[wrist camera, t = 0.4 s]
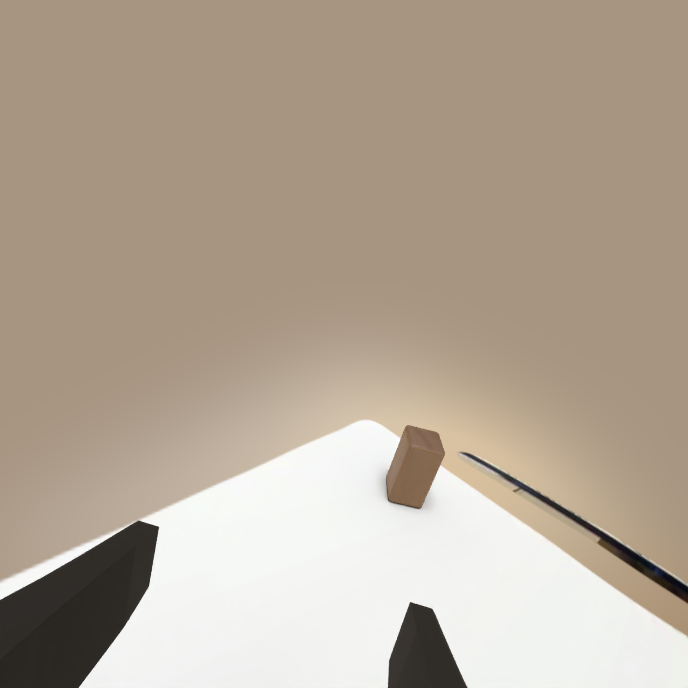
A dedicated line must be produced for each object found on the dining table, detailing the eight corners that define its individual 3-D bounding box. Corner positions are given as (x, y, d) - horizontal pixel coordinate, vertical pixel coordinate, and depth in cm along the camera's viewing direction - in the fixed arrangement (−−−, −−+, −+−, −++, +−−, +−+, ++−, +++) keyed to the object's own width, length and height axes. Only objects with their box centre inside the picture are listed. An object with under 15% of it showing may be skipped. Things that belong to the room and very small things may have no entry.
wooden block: (416, 484, 45) (439, 431, 42) (421, 510, 41) (446, 453, 38) (385, 476, 45) (405, 423, 42) (387, 502, 41) (410, 444, 38)
